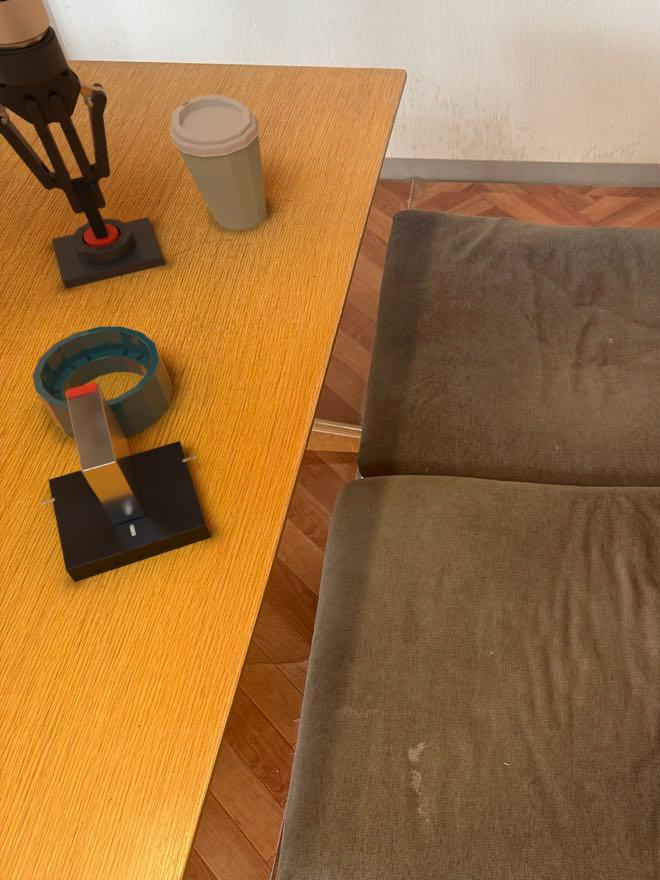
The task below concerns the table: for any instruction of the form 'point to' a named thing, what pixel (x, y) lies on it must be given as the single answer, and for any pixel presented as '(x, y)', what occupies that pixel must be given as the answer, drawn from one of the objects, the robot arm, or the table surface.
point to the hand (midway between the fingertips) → (100, 231)
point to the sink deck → (159, 531)
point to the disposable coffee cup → (222, 157)
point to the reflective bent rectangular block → (104, 453)
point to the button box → (107, 253)
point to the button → (100, 242)
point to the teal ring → (100, 356)
